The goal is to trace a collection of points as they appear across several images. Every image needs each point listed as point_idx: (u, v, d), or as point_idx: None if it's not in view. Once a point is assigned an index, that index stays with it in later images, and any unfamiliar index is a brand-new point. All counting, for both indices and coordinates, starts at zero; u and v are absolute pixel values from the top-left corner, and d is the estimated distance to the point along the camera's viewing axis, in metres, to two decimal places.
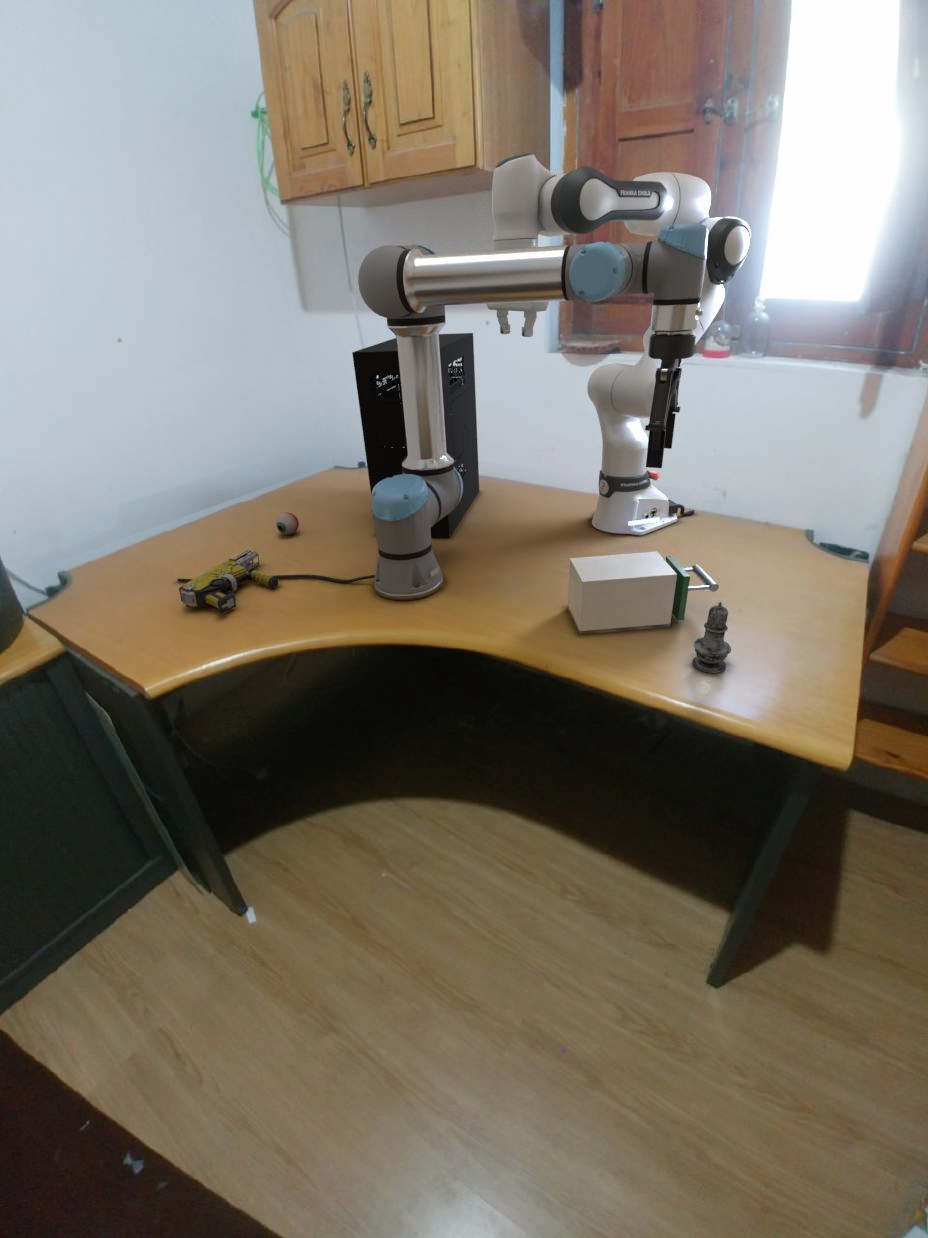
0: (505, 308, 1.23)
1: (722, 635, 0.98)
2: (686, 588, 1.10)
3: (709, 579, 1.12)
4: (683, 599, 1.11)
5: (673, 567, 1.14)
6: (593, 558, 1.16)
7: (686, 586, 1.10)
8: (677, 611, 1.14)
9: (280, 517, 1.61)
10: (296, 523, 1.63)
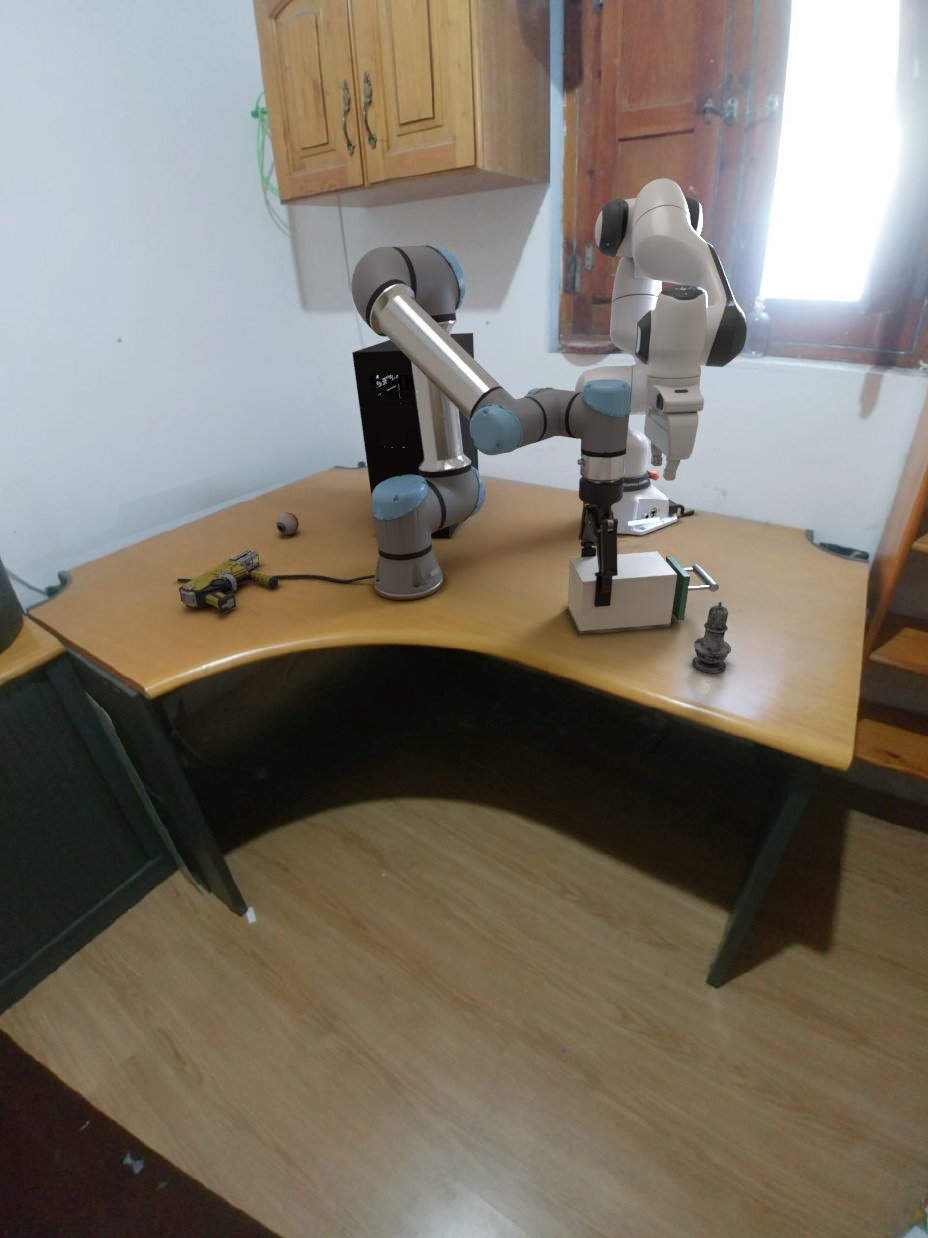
0: None
1: (722, 635, 0.98)
2: (686, 588, 1.10)
3: (709, 579, 1.12)
4: (683, 599, 1.11)
5: (673, 567, 1.14)
6: (593, 558, 1.16)
7: (686, 586, 1.10)
8: (677, 611, 1.14)
9: (280, 517, 1.61)
10: (296, 523, 1.63)
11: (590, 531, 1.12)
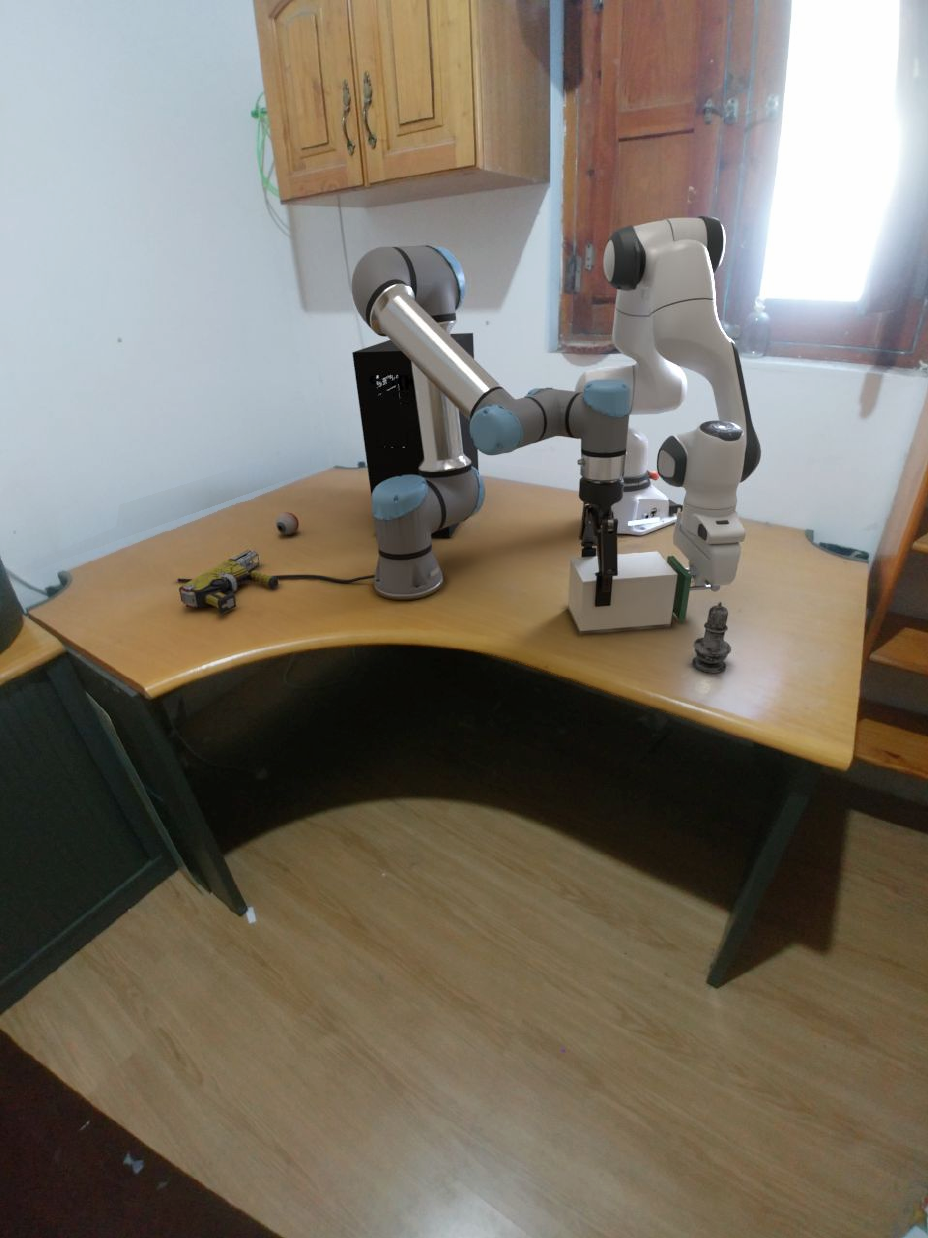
0: None
1: (722, 635, 0.98)
2: (688, 588, 1.10)
3: None
4: (685, 599, 1.11)
5: (675, 567, 1.14)
6: (593, 558, 1.16)
7: (688, 586, 1.10)
8: (678, 611, 1.14)
9: (280, 517, 1.61)
10: (296, 523, 1.63)
11: (591, 531, 1.12)
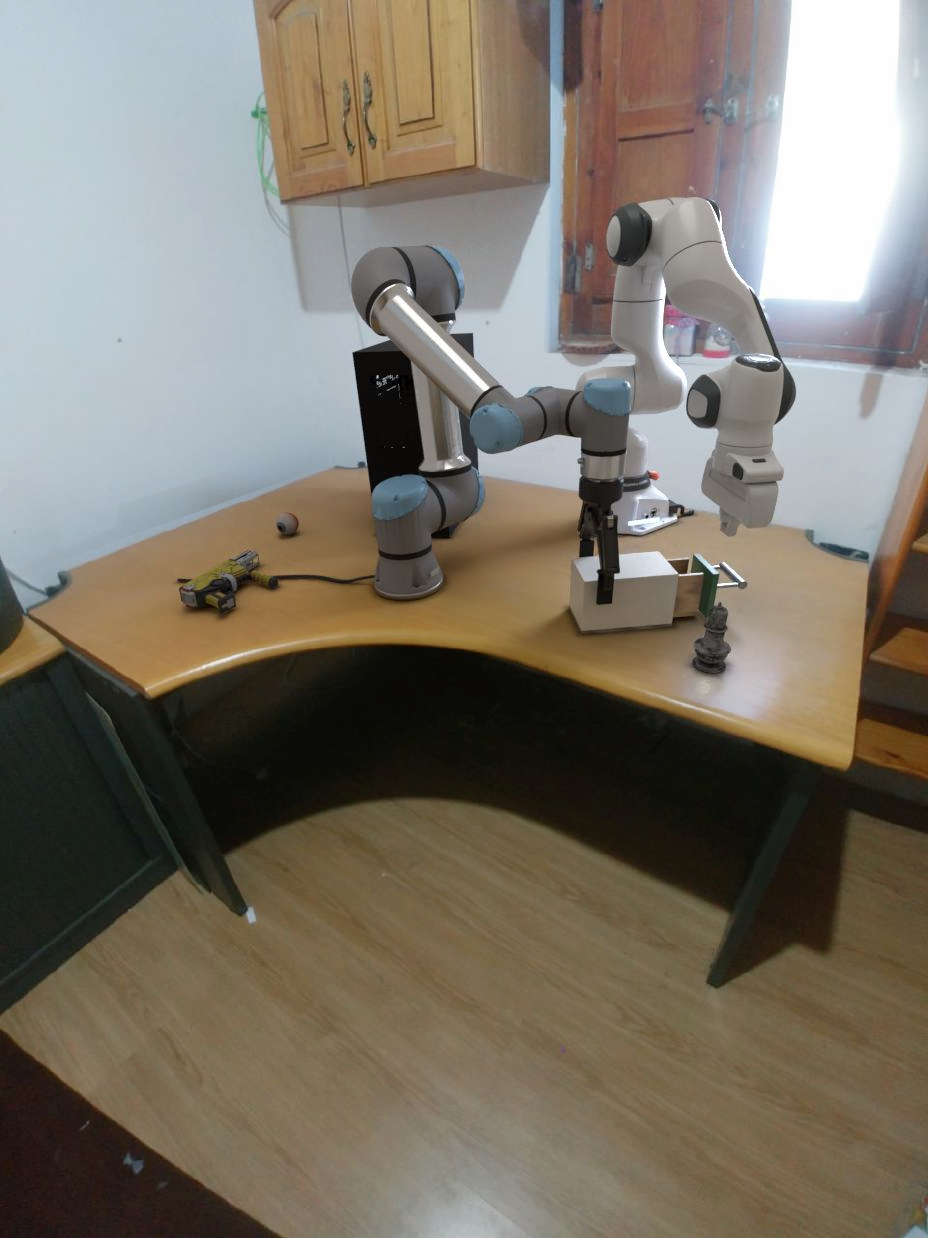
0: None
1: (722, 635, 0.98)
2: (715, 586, 1.11)
3: (737, 577, 1.13)
4: (712, 597, 1.12)
5: (701, 565, 1.14)
6: (595, 558, 1.16)
7: (715, 584, 1.10)
8: (705, 608, 1.14)
9: (280, 517, 1.61)
10: (296, 523, 1.63)
11: (589, 526, 1.12)
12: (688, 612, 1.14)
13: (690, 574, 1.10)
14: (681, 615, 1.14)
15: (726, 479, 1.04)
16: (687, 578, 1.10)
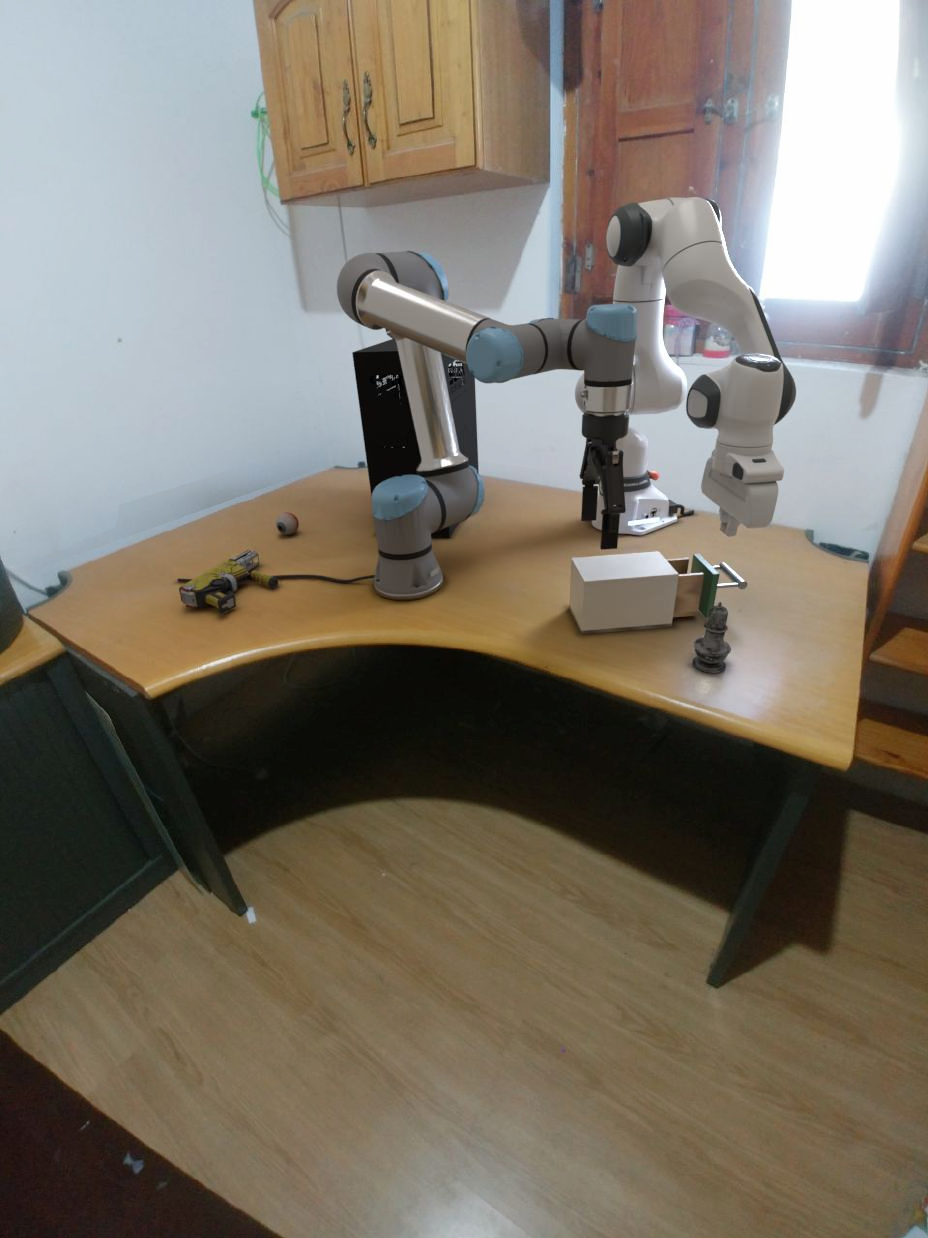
0: None
1: (722, 635, 0.98)
2: (715, 586, 1.11)
3: (737, 577, 1.13)
4: (712, 597, 1.12)
5: (701, 565, 1.14)
6: (595, 558, 1.16)
7: (715, 584, 1.10)
8: (705, 608, 1.14)
9: (280, 517, 1.61)
10: (296, 523, 1.63)
11: (593, 470, 1.07)
12: (688, 612, 1.14)
13: (690, 574, 1.10)
14: (681, 615, 1.14)
15: (726, 479, 1.04)
16: (687, 578, 1.10)
